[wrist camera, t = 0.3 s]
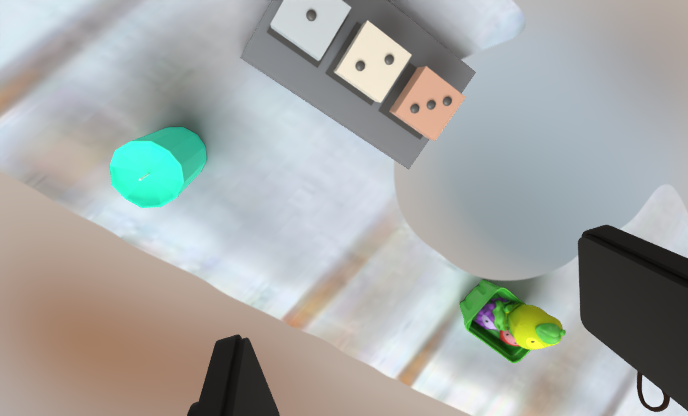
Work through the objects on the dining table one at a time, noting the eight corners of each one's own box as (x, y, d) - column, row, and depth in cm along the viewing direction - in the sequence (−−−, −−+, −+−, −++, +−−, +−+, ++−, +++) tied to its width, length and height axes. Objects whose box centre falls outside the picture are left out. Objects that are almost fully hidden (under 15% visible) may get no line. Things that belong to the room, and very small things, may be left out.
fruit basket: (446, 306, 54) (486, 361, 43) (489, 261, 52) (540, 306, 42) (496, 342, 57) (544, 401, 47) (537, 300, 56) (596, 351, 45)
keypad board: (242, 58, 39) (240, 57, 37) (306, -58, 37) (308, -67, 35) (403, 165, 46) (409, 169, 44) (467, 72, 43) (476, 72, 41)
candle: (174, 114, 40) (130, 126, 29) (218, 152, 42) (194, 178, 31) (138, 154, 41) (82, 181, 29) (183, 190, 43) (147, 228, 31)
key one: (271, 27, 35) (270, 23, 32) (300, -24, 34) (301, -33, 31) (318, 61, 36) (320, 59, 34) (347, 12, 35) (351, 7, 33)
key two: (333, 71, 37) (336, 71, 34) (362, 24, 36) (368, 19, 33) (375, 101, 38) (381, 102, 36) (404, 56, 37) (412, 54, 35)
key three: (389, 111, 39) (395, 113, 36) (417, 67, 38) (426, 66, 35) (426, 137, 40) (435, 141, 38) (455, 96, 39) (466, 97, 37)
